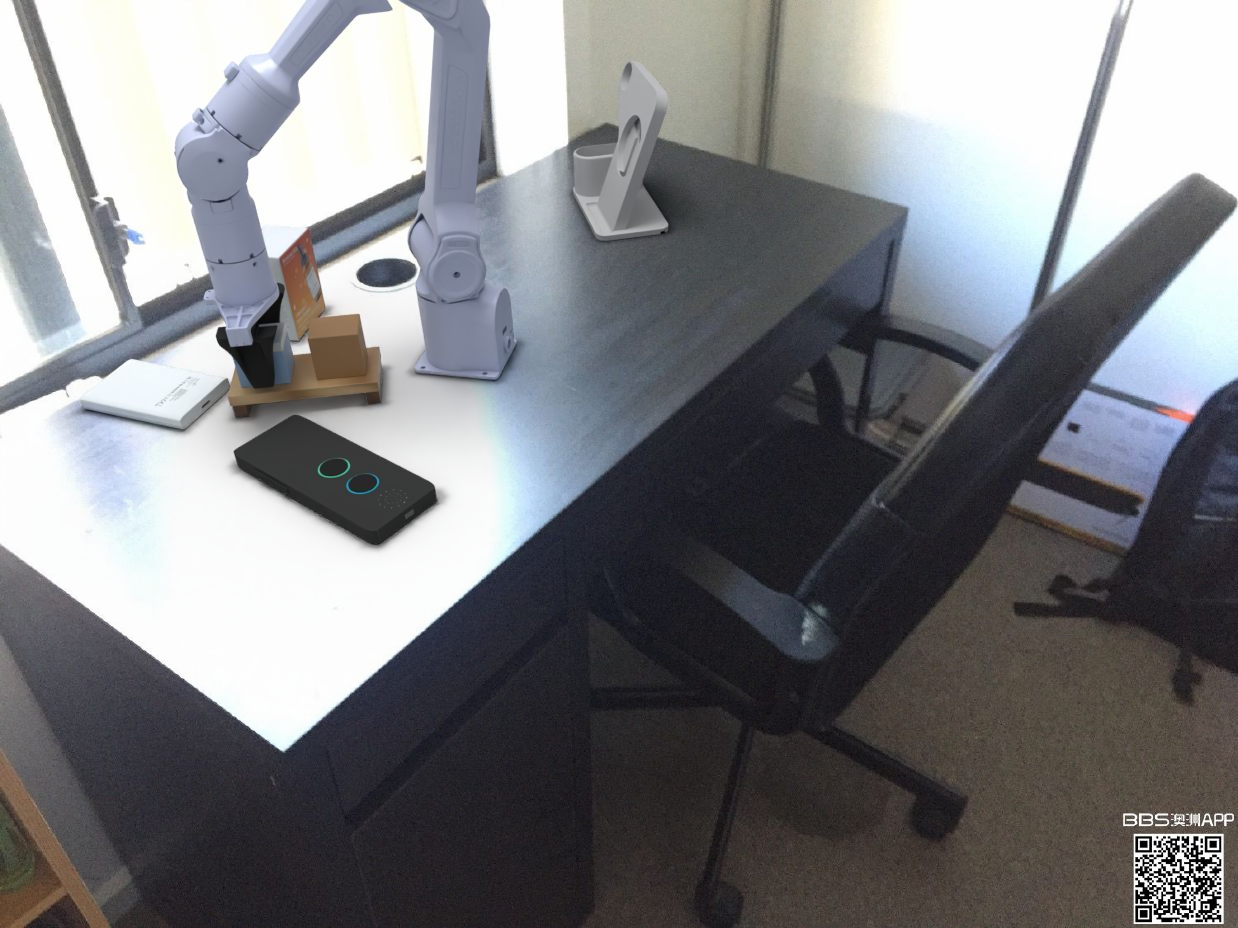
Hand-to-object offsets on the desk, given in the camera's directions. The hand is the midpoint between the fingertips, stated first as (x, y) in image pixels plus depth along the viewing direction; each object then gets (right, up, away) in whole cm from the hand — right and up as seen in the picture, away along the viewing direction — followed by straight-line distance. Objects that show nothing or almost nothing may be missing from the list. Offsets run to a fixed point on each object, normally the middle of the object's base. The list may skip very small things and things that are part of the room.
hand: (267, 369), depth 109 cm
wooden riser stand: (+4, -2, +3) cm, 5 cm away
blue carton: (0, 0, 0) cm, 1 cm away
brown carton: (+8, 0, +1) cm, 8 cm away
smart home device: (+10, -12, -9) cm, 18 cm away
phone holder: (+37, +25, +37) cm, 57 cm away
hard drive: (-12, -3, +2) cm, 13 cm away
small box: (-2, +7, +14) cm, 16 cm away
